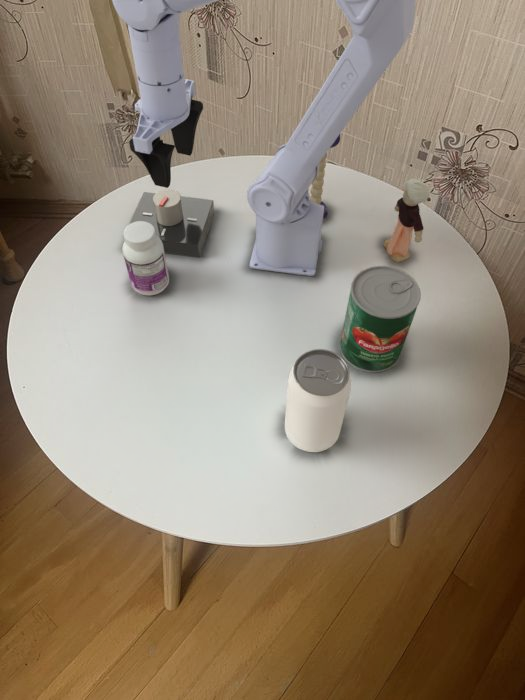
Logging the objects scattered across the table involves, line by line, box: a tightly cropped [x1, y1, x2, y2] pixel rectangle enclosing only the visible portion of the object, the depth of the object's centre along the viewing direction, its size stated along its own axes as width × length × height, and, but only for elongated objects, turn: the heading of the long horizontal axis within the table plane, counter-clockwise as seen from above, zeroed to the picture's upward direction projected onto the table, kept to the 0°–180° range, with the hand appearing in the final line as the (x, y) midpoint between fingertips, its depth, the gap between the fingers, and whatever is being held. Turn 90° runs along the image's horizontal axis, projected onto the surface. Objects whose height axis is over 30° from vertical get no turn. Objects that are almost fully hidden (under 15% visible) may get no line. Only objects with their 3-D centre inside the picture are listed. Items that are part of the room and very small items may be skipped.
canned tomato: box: [339, 265, 422, 374], centre depth 69 cm, size 8×8×11 cm
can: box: [284, 348, 352, 453], centre depth 61 cm, size 6×6×12 cm
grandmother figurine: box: [383, 178, 430, 263], centre depth 78 cm, size 8×4×13 cm, turn 27°
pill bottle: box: [121, 221, 170, 296], centre depth 76 cm, size 5×5×10 cm
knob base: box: [128, 191, 215, 258], centre depth 85 cm, size 11×10×3 cm
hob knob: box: [153, 188, 183, 226], centre depth 82 cm, size 4×4×4 cm
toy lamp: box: [309, 133, 341, 220], centre depth 82 cm, size 5×5×17 cm
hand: (173, 168), depth 80 cm, fingers open, 7 cm apart
